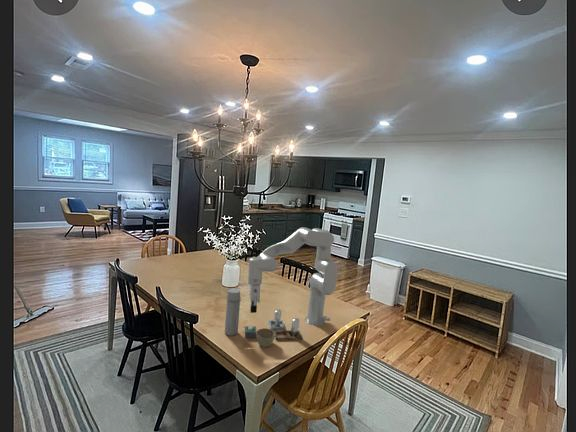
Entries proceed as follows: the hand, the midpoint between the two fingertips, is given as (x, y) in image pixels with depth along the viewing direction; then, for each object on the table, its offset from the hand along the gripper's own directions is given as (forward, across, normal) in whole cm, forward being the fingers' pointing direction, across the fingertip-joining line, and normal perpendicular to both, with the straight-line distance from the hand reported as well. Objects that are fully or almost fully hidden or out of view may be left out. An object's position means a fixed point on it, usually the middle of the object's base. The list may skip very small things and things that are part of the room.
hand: (253, 311), depth 168 cm
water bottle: (+14, +2, +11) cm, 18 cm away
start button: (+12, 0, +1) cm, 12 cm away
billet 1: (+14, +8, -15) cm, 22 cm away
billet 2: (+14, -3, -23) cm, 27 cm away
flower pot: (+14, -10, -6) cm, 18 cm away
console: (+14, 0, +1) cm, 14 cm away
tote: (+15, +8, -15) cm, 22 cm away
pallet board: (+15, -3, -19) cm, 25 cm away
